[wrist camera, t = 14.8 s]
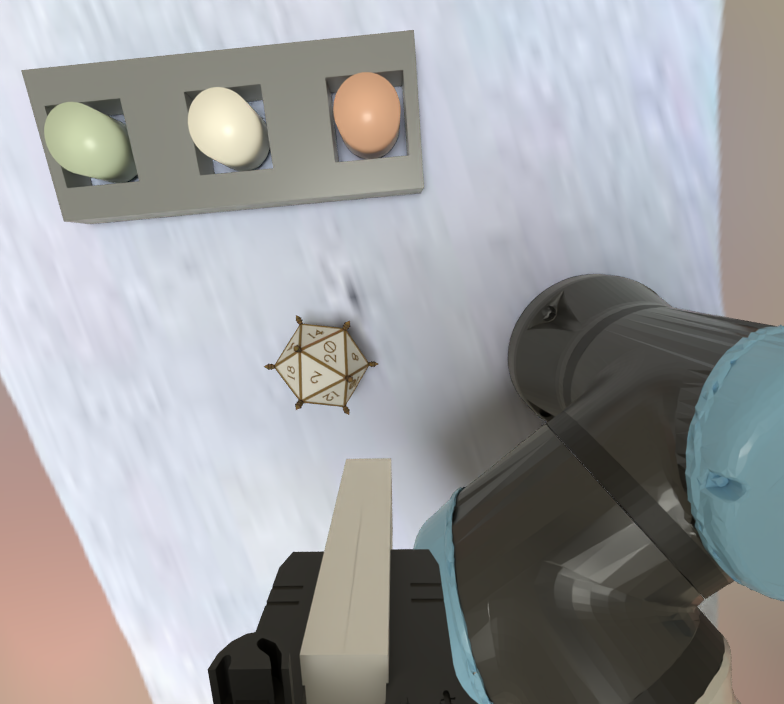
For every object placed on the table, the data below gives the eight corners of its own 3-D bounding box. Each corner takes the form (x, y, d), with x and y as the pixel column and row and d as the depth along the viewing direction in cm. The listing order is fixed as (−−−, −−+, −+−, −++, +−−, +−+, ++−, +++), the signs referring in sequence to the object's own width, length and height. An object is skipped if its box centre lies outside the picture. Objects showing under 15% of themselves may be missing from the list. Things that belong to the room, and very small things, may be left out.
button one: (264, 103, 32) (248, 83, 29) (274, 168, 33) (259, 157, 30) (205, 109, 32) (181, 90, 29) (217, 173, 34) (195, 164, 30)
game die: (319, 333, 42) (265, 290, 33) (394, 342, 39) (357, 297, 30) (296, 416, 39) (231, 394, 30) (374, 432, 36) (327, 413, 27)
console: (411, 43, 32) (413, 22, 29) (421, 193, 35) (423, 187, 32) (52, 80, 32) (19, 63, 30) (91, 224, 35) (64, 221, 32)
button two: (134, 116, 32) (101, 98, 29) (148, 180, 34) (119, 171, 30) (75, 121, 33) (35, 105, 29) (92, 185, 34) (55, 177, 30)
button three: (396, 89, 32) (397, 68, 28) (401, 156, 33) (403, 144, 30) (336, 95, 32) (329, 75, 28) (343, 161, 33) (337, 150, 30)
